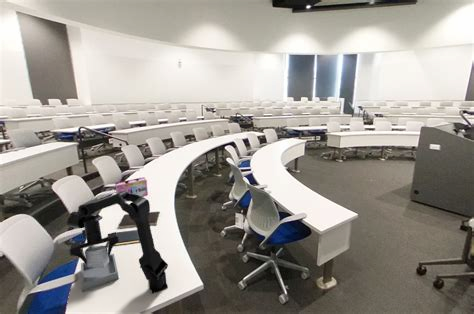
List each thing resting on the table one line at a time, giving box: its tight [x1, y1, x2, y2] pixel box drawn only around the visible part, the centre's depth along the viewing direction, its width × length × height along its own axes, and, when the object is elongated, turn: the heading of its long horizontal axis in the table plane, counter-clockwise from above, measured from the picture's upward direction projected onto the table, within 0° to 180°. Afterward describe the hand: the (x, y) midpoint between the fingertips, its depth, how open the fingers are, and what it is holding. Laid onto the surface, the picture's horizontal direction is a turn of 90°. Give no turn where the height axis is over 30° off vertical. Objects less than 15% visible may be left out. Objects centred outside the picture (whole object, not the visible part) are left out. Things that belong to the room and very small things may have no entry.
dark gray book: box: [105, 229, 141, 248], centre depth 143 cm, size 20×2×15 cm
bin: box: [80, 253, 119, 292], centre depth 113 cm, size 14×16×4 cm
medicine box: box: [84, 245, 109, 268], centre depth 111 cm, size 8×4×9 cm, turn 88°
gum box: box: [114, 177, 149, 197], centre depth 201 cm, size 24×8×14 cm, turn 126°
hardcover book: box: [118, 211, 160, 229], centre depth 163 cm, size 16×23×2 cm
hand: (97, 259), depth 112 cm, fingers closed on medicine box, 9 cm apart
